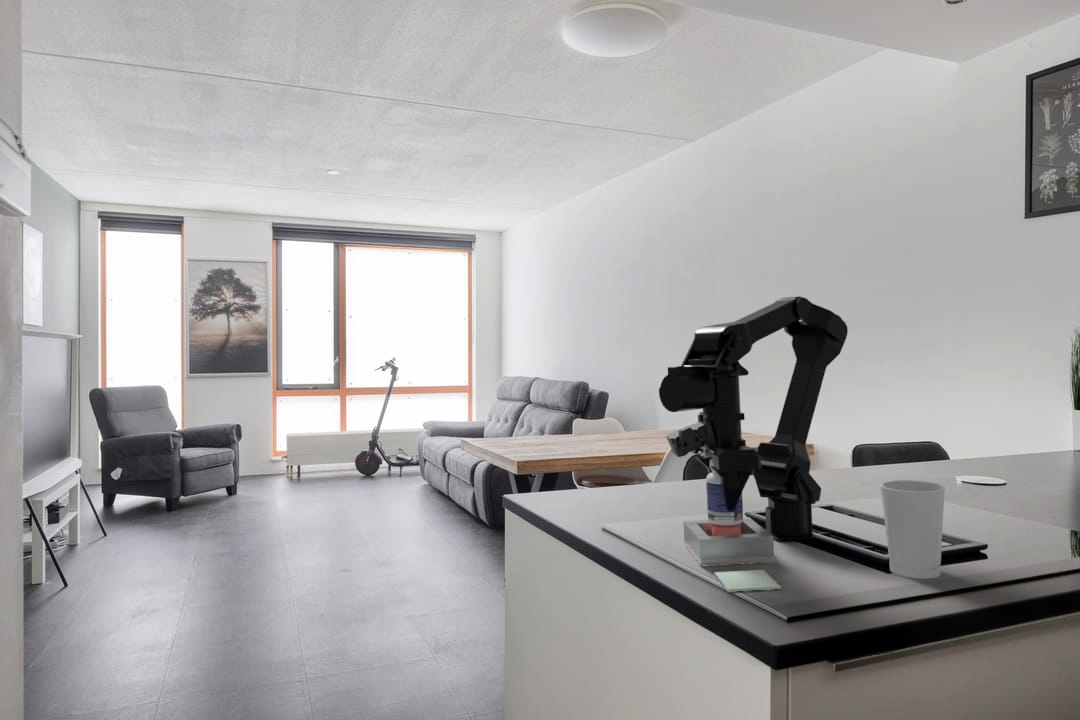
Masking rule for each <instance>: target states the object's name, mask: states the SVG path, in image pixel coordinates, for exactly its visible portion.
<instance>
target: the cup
mask: <svg viewBox="0 0 1080 720" xmlns="http://www.w3.org/2000/svg"><path fill="white" fill-rule="evenodd" d="M879 487H880V492H881V493H880V495H881V500H882V507H883V508H882V509H883V510H882V511H883V518H884V524H885V533H886V543H887V552H888V558H889V559H888V561H889V571H890V572H891V573H893V574H895V575H898V576H900V577H905V578H911V579H917V580H918V579H919V580H923V579H924V580H925V579H926V580H928V579H929V580H930V579H936V578H939V577H941V574H942V572H941V571H942V570H941V569H942V568H941V564H942V563H941V561H942V545H943V542H942V541H943V524H944V523H943V522H944V507H945V506H944V505H945V504H944V503H945V493H946V492H945V491H946V488H945V485H942V484H940V483H936V482H931V481H923V480H910V479H909V480H905V479H903V480H902V479H901V480H900V479H899V480H897V479H896V480H888V481H883V482H881V483H880V485H879Z"/></svg>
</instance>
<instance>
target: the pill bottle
mask: <svg viewBox="0 0 1080 720" xmlns="http://www.w3.org/2000/svg"><path fill="white" fill-rule="evenodd" d="M710 466H714V464H713V459H712V460H710ZM710 469H711V467H710ZM711 470H712V469H711ZM705 482H706V504H707V505H706V506H707V520H708V521H709V522H710V523H712V524H715V525H722V526H732V525H738V524H740V523H742V522H743V518H744V509H743V508H744V506H743V505H744V504H743V493H742V494H741V496H740V498H739V501H738V503H737V505H736V508H735V510H727V508H726V504H725V499H724V494H723V489H722V484H721V479H720V476H719V475H718V474H717V473H716V472H715V471H714V470H712V472H711V473H710V474H709V473H708V474H707V475H706V478H705Z"/></svg>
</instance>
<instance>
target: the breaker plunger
mask: <svg viewBox="0 0 1080 720" xmlns="http://www.w3.org/2000/svg"><path fill="white" fill-rule="evenodd" d="M720 535H741V524H738V525H732V526H722V525H715V524H712V536H720Z"/></svg>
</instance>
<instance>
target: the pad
mask: <svg viewBox="0 0 1080 720" xmlns="http://www.w3.org/2000/svg"><path fill="white" fill-rule="evenodd" d="M715 575H716V576H717V577H718V578H719V580H720V581H721V582H722V584H723V585H724V586H723V585H722V584H721V585H722V586H723V587H724V589H725V590H726V592H727V593H738V592H737V591H744V592H752V591H751V590H763V591H775V590H774V589H781V585H780V584H779V583H778V582H777V581H776V580H774V579H773V578H772V576H770V575H769V574H768V573H767V572H766V571H765V570H764V569H754V570H752V569H751V570H750V569H749V570H733V571H732V570H731V571H715V572H714V576H715ZM716 576H715V577H716ZM719 580H718V581H719ZM720 581H719V582H720ZM772 589H773V590H772ZM748 590H749V591H748Z"/></svg>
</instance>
